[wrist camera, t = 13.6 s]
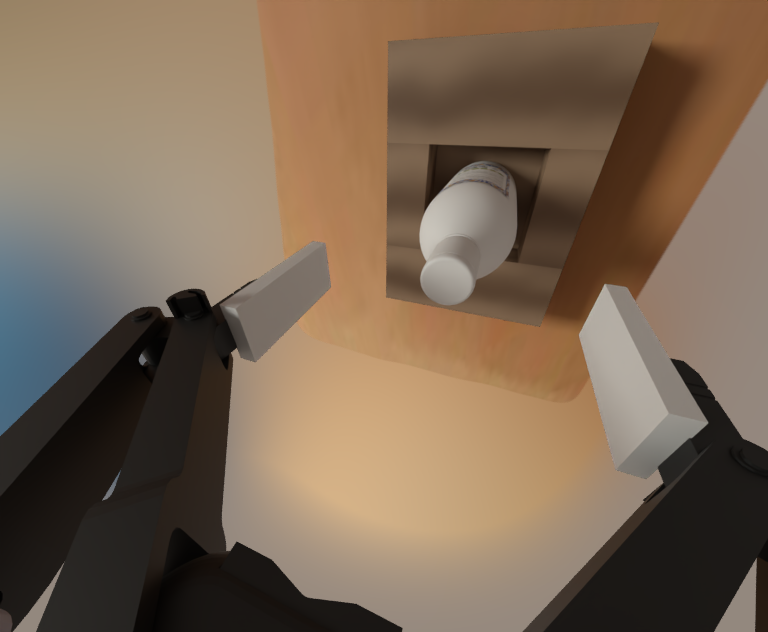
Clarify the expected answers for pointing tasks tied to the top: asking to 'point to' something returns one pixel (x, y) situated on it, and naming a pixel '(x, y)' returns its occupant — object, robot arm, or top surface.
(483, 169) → the bath foam
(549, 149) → the walnut holder
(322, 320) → the top surface
